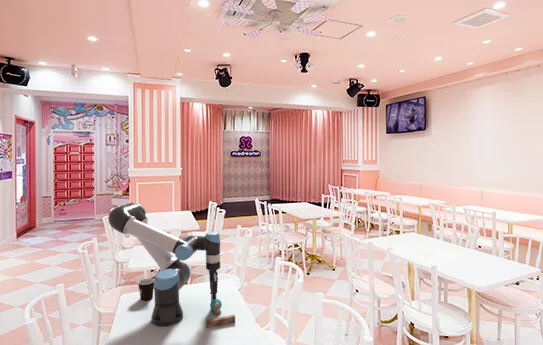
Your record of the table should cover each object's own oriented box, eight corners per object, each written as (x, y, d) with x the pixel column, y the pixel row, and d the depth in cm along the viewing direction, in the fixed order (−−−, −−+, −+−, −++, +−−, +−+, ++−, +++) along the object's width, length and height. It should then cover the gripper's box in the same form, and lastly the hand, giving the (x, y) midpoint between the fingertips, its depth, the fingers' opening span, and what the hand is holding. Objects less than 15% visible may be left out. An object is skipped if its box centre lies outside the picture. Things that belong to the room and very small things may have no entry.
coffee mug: (138, 296, 186) (138, 279, 185) (154, 294, 189) (154, 277, 188) (138, 305, 175) (137, 287, 174) (155, 302, 178) (154, 285, 177)
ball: (209, 313, 167) (211, 305, 164) (209, 304, 172) (210, 296, 169) (221, 313, 168) (223, 304, 166) (220, 304, 174) (221, 296, 171)
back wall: (206, 328, 152) (206, 322, 152) (205, 325, 154) (205, 319, 154) (235, 322, 157) (235, 316, 157) (234, 320, 159) (234, 314, 159)
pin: (214, 315, 164) (215, 307, 159) (213, 310, 166) (214, 302, 161) (219, 314, 165) (219, 306, 160) (218, 309, 167) (219, 301, 161)
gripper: (222, 264, 166) (223, 308, 168) (217, 256, 178) (218, 297, 180) (208, 266, 163) (208, 310, 165) (204, 258, 176) (204, 299, 177)
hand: (213, 303), depth 172 cm, fingers closed
